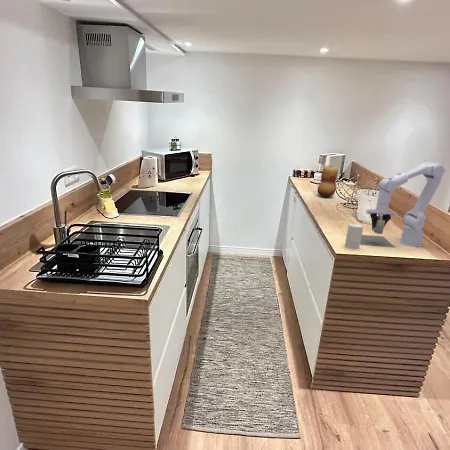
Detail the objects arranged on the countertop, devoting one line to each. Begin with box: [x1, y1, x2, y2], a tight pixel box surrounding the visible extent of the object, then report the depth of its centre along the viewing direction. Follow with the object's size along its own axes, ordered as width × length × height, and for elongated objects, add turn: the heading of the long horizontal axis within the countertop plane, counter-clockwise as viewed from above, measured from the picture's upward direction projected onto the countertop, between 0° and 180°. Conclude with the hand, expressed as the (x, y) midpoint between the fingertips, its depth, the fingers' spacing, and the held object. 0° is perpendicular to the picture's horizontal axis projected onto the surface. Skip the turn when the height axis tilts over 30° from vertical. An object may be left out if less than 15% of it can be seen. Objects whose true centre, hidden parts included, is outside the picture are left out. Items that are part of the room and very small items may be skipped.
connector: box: [370, 214, 386, 235], centre depth 181 cm, size 4×8×9 cm, turn 178°
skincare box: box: [344, 223, 364, 250], centre depth 176 cm, size 6×4×12 cm
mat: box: [360, 234, 396, 248], centre depth 189 cm, size 18×16×1 cm
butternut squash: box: [317, 164, 339, 198], centre depth 274 cm, size 14×13×25 cm
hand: (377, 227), depth 181 cm, fingers closed on connector, 4 cm apart
